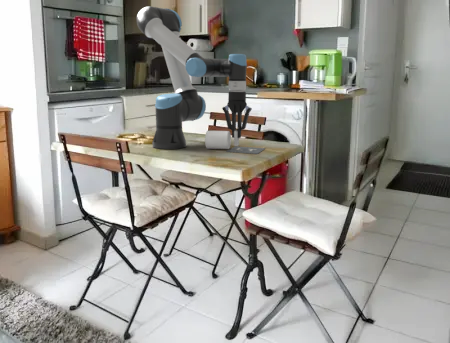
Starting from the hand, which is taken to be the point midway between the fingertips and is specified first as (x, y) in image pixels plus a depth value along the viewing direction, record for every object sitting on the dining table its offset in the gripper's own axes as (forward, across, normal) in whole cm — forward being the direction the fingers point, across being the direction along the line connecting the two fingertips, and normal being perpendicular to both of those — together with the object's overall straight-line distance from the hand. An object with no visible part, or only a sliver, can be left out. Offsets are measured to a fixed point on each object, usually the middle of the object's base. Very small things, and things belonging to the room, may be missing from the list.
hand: (236, 145), depth 197 cm
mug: (+2, -8, 0) cm, 8 cm away
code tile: (+2, +4, 0) cm, 5 cm away
